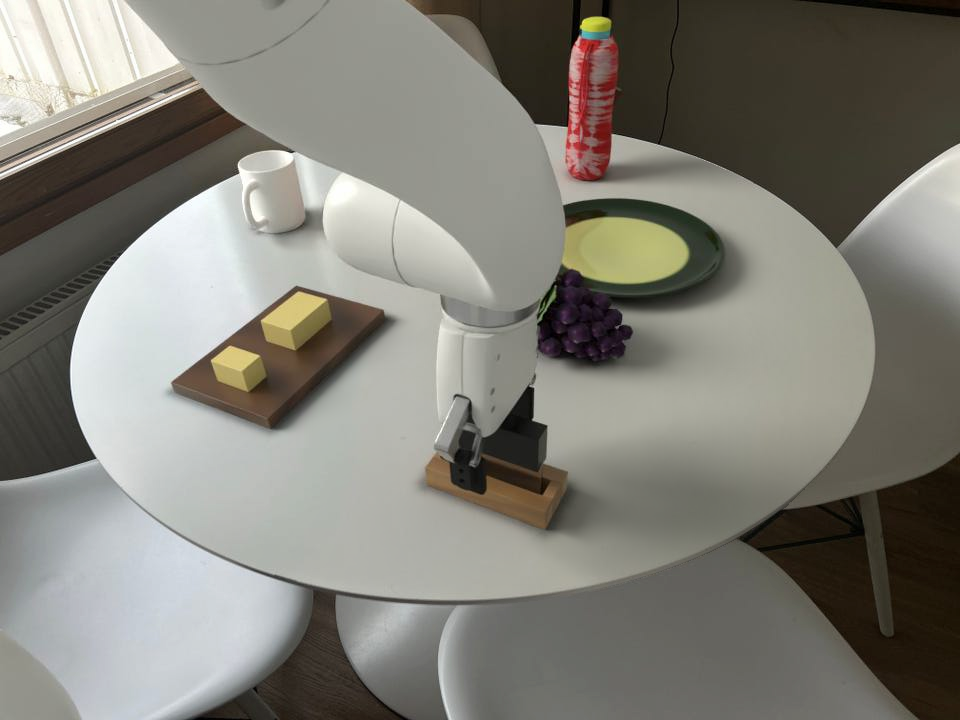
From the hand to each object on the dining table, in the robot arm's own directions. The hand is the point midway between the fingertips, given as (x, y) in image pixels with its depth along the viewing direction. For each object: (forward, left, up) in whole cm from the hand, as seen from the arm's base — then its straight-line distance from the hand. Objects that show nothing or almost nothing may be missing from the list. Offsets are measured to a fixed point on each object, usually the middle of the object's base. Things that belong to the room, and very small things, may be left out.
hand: (494, 450), depth 62 cm
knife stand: (0, 0, -5) cm, 5 cm away
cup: (+33, +55, -5) cm, 64 cm away
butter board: (+8, +32, -5) cm, 33 cm away
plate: (+46, +3, -5) cm, 47 cm away
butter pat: (+1, +32, -4) cm, 32 cm away
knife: (0, 0, -5) cm, 5 cm away
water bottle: (+72, +17, -5) cm, 74 cm away
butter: (+11, +32, -4) cm, 34 cm away
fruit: (+23, +2, -5) cm, 24 cm away
